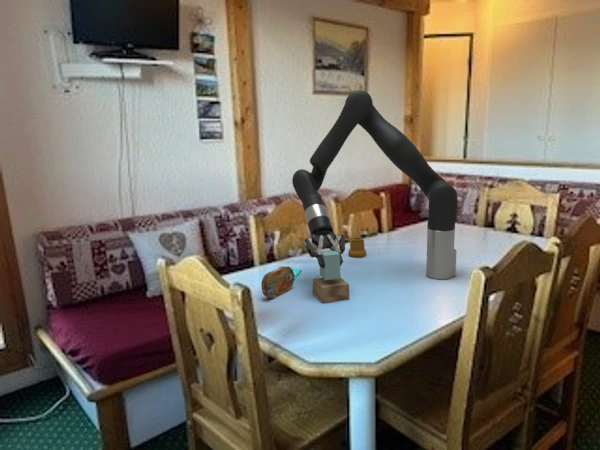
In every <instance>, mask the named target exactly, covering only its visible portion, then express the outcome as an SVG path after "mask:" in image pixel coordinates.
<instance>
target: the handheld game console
mask: <svg viewBox="0 0 600 450" xmlns="http://www.w3.org/2000/svg"><path fill="white" fill-rule="evenodd" d="M291 269H292V270H293V273H294V279H295V278H296V277H297V278H298V276H300V274H301V273H302V269H301V268H291ZM300 272H301V273H300ZM299 273H300V274H299ZM295 280H296V279H295Z"/></svg>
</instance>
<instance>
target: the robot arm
mask: <svg viewBox="0 0 600 450" xmlns="http://www.w3.org/2000/svg"><path fill="white" fill-rule="evenodd" d="M357 125H359V126H360V127H362V129H364V130H365V131H366V133H368V135H370V137H371V139H372V140H373V141H374V142H375V144H376V145H377V146H378V148H379V149H380V150H381V152H383V154H384V155H385V156H386V157H387V159H389V160H390V161H391V163H392V164H393V165H394V166H395V167H396V168H397V169H398V170H400V171H401V172H402V173H403V174H405V175H406V176H407V177H409V178H410V179H411V180H412V181H413V182H414V183H415V184H416V185H417V186H418V188H419V189H421V191H422V192H423V193H424V195H425V196H426V198H427V200H428V217H427V222H426V223H427V229H426V230H427V231H426V233H427V234H426V269H425V275H426V277H428V278H431V279H436V280H448V279H452V278H453V277H456V273H457V270H456V269H457V249H455V240H456V239H455V237H456V236H455V235H456V234H455V233H456V223H457V218H458V217H457V215H458V213H457V212H458V193H457V190H456V188H454V186H453V185H451V183H449V182H448V181H446V180H445V179H444V178H443V177H442V176H441V175H439V174H438V172H436V171H435V170H434V169H433V168H432V167H431V166H430V165H429V163H428V161H427V160H426V158H425V157H424V156H423V154H422V153H421V152H420V150H419V149H418V148H417V146H416V145H415V144H414V143H413V142H412V140H410V139H409V138H408V137H407V136H406V135H405V134H404V133H403V132H402V131H400V130H399V129H398V128H397V127H396V126H395V125H393V124H391V123H390V122H389V121H388V120H386V118H384V116H382V114H381V113H380V112H379V111H378V109H376V107H375V106H374V104H373V98H372V96H371V94H369V93H368V92H367V91H365V90H362V89H358V90H355V91H351V92H350V94H348V96H346V99H345V102H344V106H343V108H342V109H341V112H340V114H339V116H338V118H337V119H336V120H335V122H334V124H333V126H331V129H329V130H328V133H327V134H326V135H325V137H324V138H323V139H322V140H321V142H320V143H319V145H317V148H316V149H315V151H314V152H313V154H312V155H311V157H310V159H309V164H310V165H311V166H312V169H311V171H308V170H307V169H302V168H301V169H298V170H296V171H295V172H294V174H293V175H292V181H291V183H292V186H293V189H294V191H295V193H296V195H297V196H298V197H297V198H298V199H299V200H300V201H301V204H302V208H303V211H304V215H305V220H306V221H305V222H306V225H307V227H308V231H309V234H310V238H305V239H304V240H303V246H304V247H305V250H306V252H307V253H308V255H309V257H310V258H316V259H317V263H318V266H319V268H320V267H321V268H324V267H325V263H324V259H323V256H322V255H321V253H322V251H323V250H325V249H329V250H335V251H336V252H338V253H339V254H340V267H341V266H342V264H343V263H344V261H343V256H342V255H343V254H344V252H345V250H346V240H345V234H341V235H336V233H335V232H334V229H333V226H332V223H331V220H330V216H329V213H328V210H327V209H326V207H325V204H324V203H325V202H324V200H323V197H322V196H321V194H320V193H319V192H318V191H319V190H320V189H321V187H322V185H323V182H324V180H325V177H326V174H327V171H328V169H329V167H330V166H331V164H332V163H333V162H334V160H335V158H337V156H338V154H339V153H340V150H341V149H342V148H343V146H344V144H345V142H346V140H347V139H349V137H350V134H351V133H352V132H353V130H354V129H355V128H356V127H357ZM336 241H337V243H338V244H337V243H336ZM312 244H313V245H315V246H316V250H315V248H314V247H313V245H312ZM338 245H339V246H338Z"/></svg>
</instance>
